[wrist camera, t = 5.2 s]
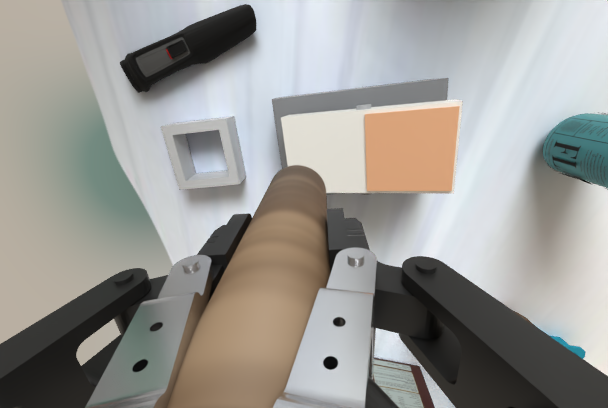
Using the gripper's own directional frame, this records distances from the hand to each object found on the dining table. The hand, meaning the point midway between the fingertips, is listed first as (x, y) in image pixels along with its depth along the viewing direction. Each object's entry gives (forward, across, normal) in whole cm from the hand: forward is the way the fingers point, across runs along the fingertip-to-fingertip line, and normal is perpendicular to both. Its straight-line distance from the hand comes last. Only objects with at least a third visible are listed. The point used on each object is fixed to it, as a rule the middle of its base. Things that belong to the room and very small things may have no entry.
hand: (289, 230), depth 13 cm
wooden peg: (+5, 0, 0) cm, 5 cm away
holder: (+21, +12, 0) cm, 24 cm away
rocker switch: (+13, -5, -1) cm, 14 cm away
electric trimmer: (+22, +12, -11) cm, 27 cm away
